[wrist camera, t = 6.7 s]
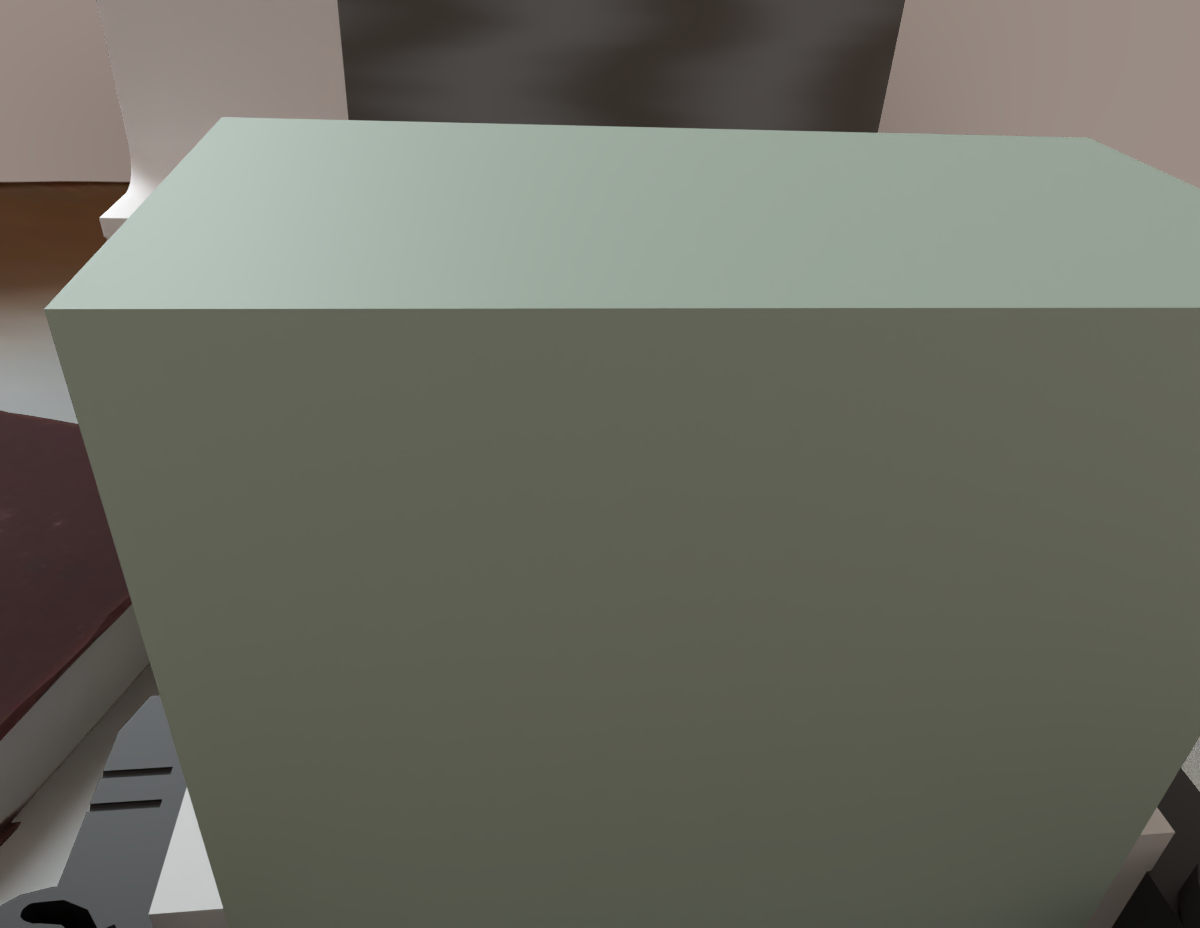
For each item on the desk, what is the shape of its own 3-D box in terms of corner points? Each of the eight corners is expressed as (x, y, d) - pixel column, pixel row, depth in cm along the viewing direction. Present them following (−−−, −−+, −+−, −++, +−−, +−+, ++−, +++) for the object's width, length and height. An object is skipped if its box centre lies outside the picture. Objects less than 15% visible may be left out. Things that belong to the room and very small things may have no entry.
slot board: (345, 828, 20) (194, -115, 11) (387, 489, 31) (331, -132, 21) (949, 785, 22) (1283, -56, 12) (791, 478, 33) (905, -98, 23)
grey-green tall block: (352, 1340, 13) (44, 308, 5) (375, 1043, 17) (221, 118, 8) (882, 1266, 14) (1455, 307, 6) (803, 1000, 18) (1089, 136, 9)
